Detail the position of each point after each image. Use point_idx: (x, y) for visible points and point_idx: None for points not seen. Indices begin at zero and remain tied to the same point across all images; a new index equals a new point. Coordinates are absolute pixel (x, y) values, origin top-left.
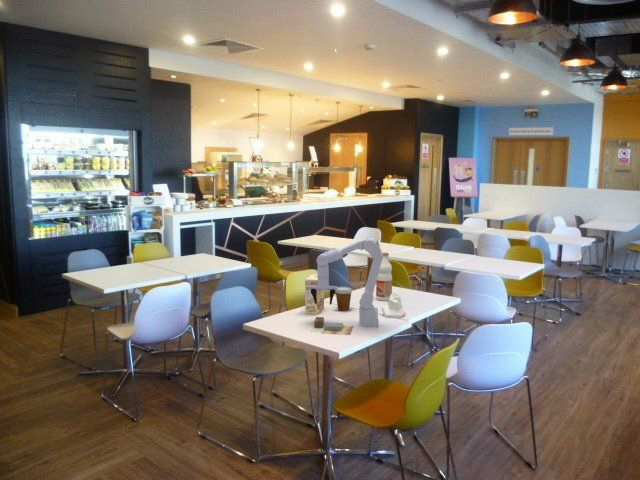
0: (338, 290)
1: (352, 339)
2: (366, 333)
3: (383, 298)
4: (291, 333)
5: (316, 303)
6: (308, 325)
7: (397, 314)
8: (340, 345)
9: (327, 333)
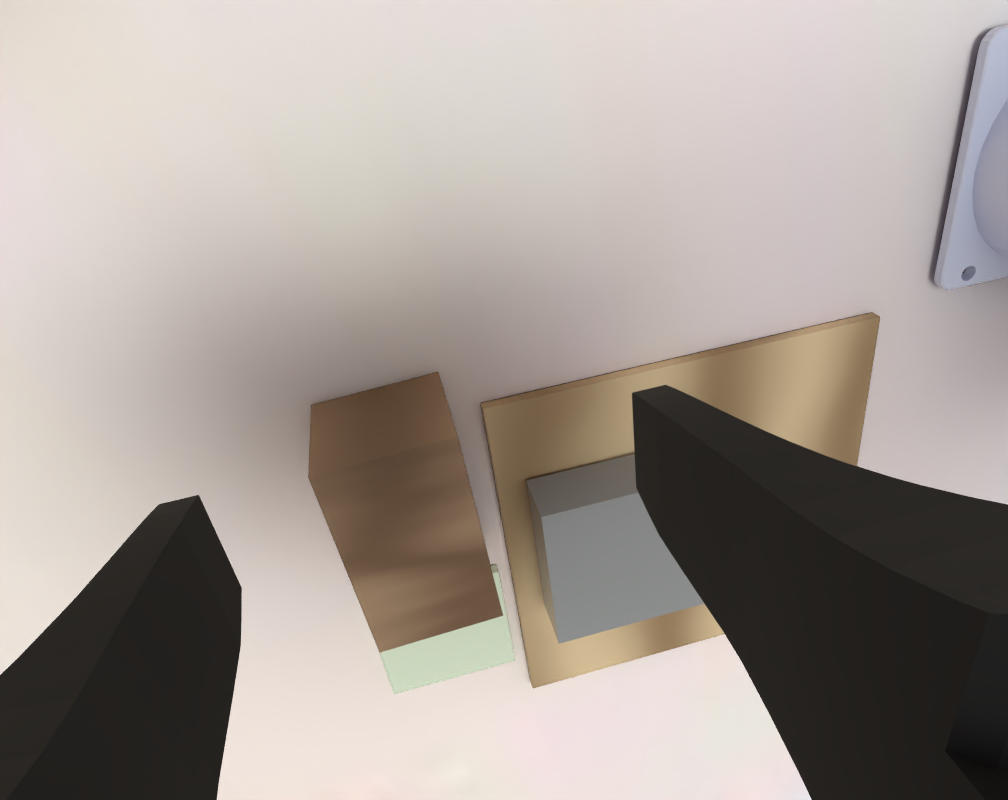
0: None
1: None
2: (993, 476)
3: None
4: None
5: (221, 547)
6: (220, 492)
7: None
8: (754, 788)
9: (599, 662)
